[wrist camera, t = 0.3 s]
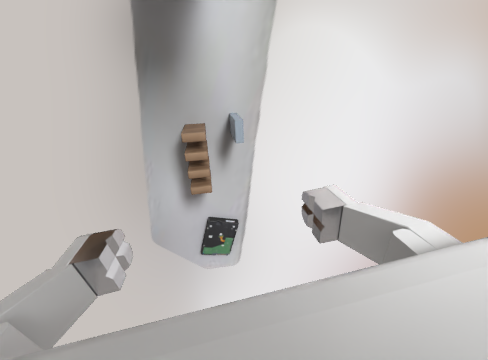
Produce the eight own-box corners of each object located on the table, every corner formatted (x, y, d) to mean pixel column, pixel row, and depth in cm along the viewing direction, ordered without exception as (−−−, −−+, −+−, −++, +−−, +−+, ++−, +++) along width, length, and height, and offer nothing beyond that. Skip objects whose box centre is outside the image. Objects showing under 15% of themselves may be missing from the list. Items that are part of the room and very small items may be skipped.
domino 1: (184, 124, 50) (181, 134, 41) (204, 123, 51) (205, 132, 42) (186, 131, 51) (182, 142, 42) (205, 130, 52) (205, 140, 43)
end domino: (230, 132, 53) (235, 143, 45) (229, 113, 51) (234, 120, 42) (237, 132, 54) (243, 142, 45) (236, 113, 51) (243, 120, 42)
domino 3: (190, 157, 54) (187, 171, 46) (208, 155, 55) (209, 169, 46) (191, 163, 55) (188, 178, 46) (209, 161, 56) (210, 176, 47)
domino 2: (187, 141, 52) (184, 153, 43) (206, 140, 53) (207, 152, 44) (188, 147, 53) (185, 161, 44) (207, 146, 54) (208, 159, 45)
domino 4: (192, 171, 56) (190, 188, 48) (210, 169, 57) (211, 186, 48) (193, 177, 57) (191, 194, 48) (210, 175, 58) (212, 192, 49)
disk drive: (207, 215, 65) (201, 249, 71) (207, 220, 62) (201, 255, 68) (237, 218, 68) (229, 250, 74) (239, 223, 65) (230, 256, 71)
